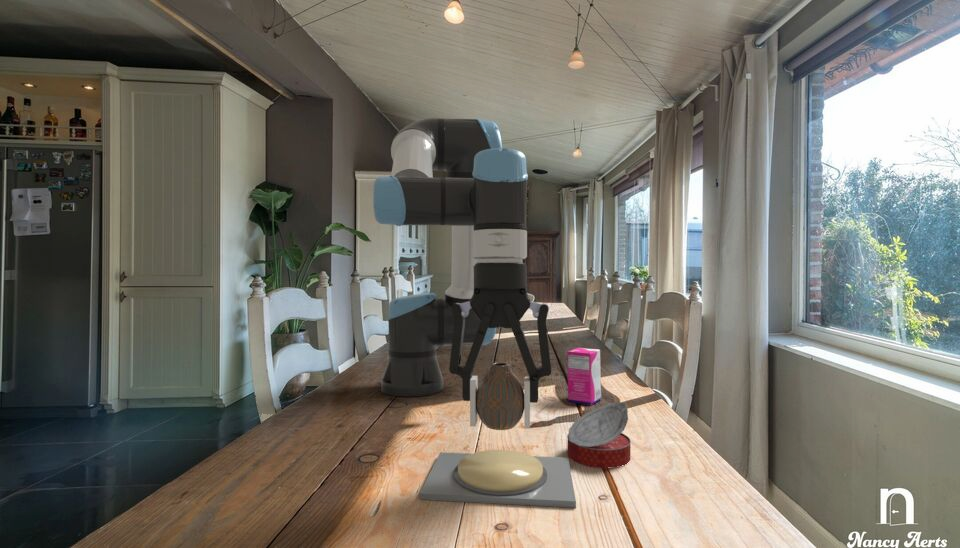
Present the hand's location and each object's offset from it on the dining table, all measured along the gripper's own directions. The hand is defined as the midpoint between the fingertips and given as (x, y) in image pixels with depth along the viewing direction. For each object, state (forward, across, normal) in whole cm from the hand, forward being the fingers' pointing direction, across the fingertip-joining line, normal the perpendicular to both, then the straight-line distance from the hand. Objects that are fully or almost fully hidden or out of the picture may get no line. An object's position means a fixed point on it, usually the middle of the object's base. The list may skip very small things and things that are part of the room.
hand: (500, 423), depth 69 cm
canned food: (+8, +15, +11) cm, 20 cm away
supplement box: (+8, +16, +43) cm, 46 cm away
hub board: (+8, 0, 0) cm, 8 cm away
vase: (+1, 0, 0) cm, 1 cm away
